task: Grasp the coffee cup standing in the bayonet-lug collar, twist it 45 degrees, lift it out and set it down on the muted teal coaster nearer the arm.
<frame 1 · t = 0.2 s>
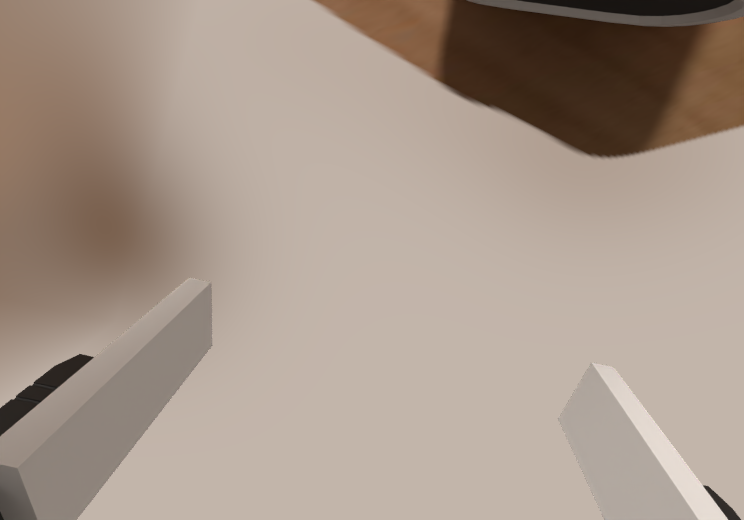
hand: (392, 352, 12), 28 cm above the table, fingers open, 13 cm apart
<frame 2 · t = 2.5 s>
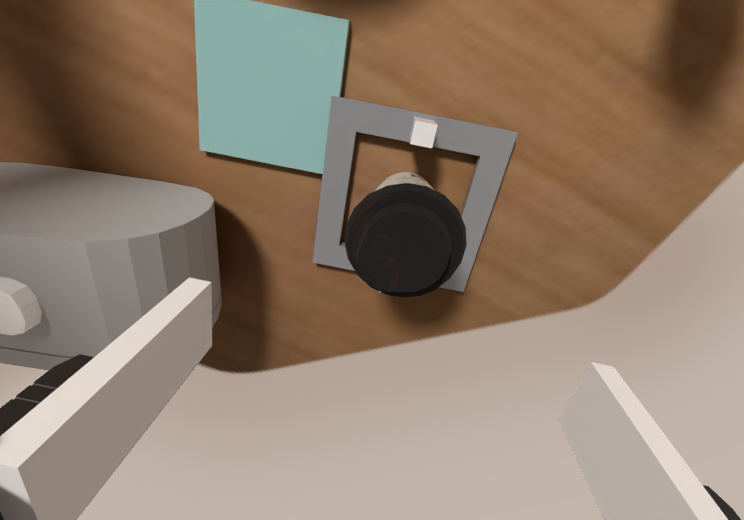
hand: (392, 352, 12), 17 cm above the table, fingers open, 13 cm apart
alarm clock: (130, 225, 31), on the table
coffee cup: (404, 200, 28), resting in collar
coaster: (270, 90, 25), on the table
collar: (404, 201, 28), on the table
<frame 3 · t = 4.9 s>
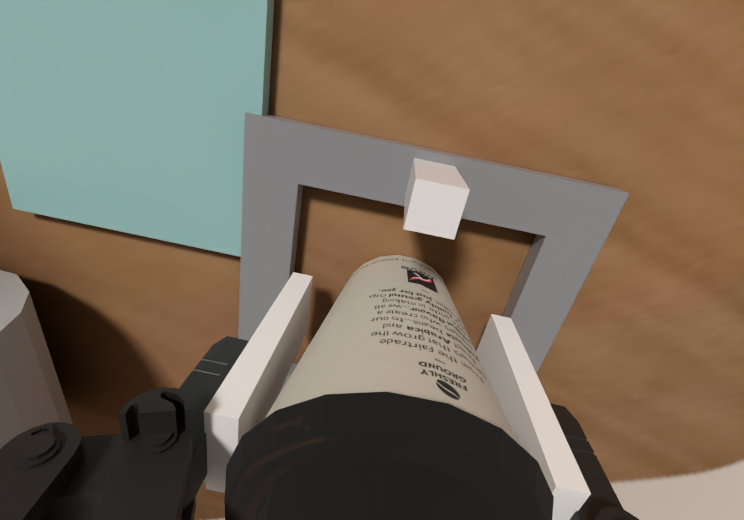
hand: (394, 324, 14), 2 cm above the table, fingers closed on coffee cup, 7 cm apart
coffee cup: (395, 300, 16), resting in collar, touching gripper
coaster: (130, 100, 13), on the table
collar: (395, 303, 15), on the table
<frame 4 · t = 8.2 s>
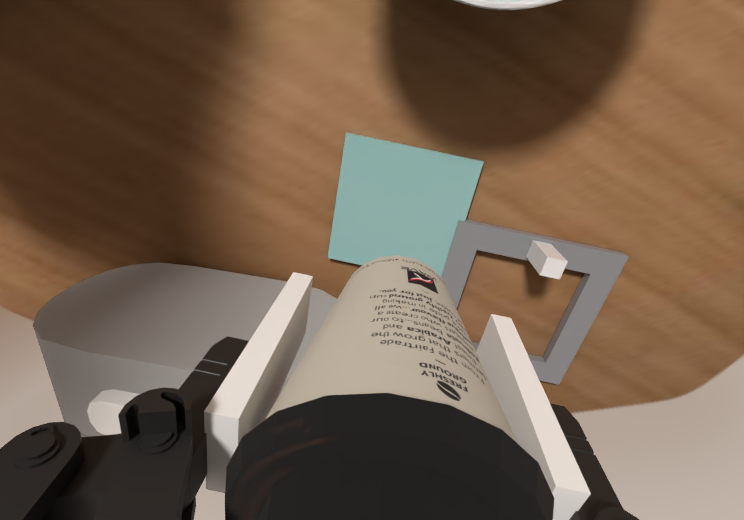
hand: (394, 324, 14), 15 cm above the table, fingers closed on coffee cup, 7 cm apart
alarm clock: (246, 313, 34), on the table
coffee cup: (395, 301, 15), point 14 cm above the table, touching gripper
coaster: (399, 211, 28), on the table
collar: (510, 304, 30), on the table
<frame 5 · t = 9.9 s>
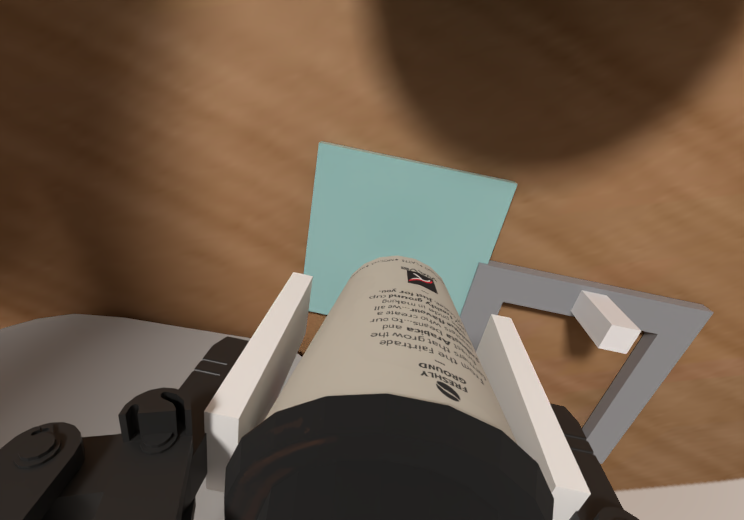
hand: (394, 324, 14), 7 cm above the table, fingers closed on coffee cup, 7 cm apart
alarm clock: (199, 372, 26), on the table
coffee cup: (395, 301, 15), point 5 cm above the table, touching gripper
coaster: (396, 249, 20), on the table
collar: (544, 367, 23), on the table
when the fingers open (4 cm above the table, at t = 11.4 s): coffee cup drops 1 cm, resting on coaster.
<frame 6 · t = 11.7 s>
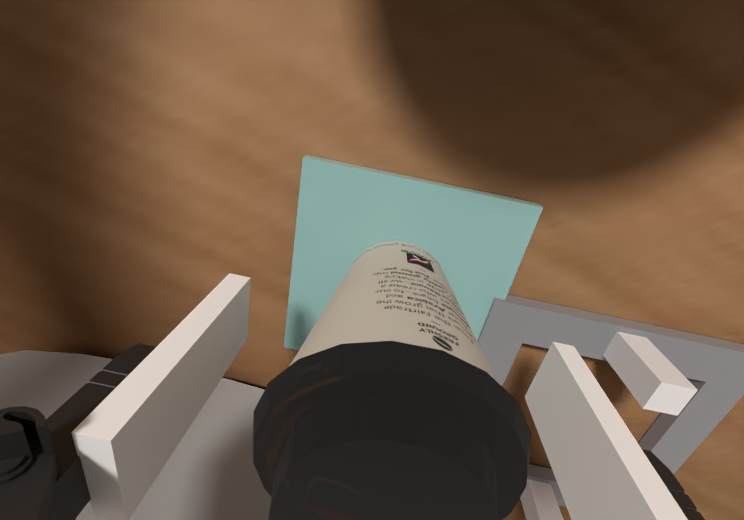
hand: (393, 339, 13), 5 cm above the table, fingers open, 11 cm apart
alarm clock: (173, 412, 23), on the table
coffee cup: (395, 283, 17), resting on coaster
coaster: (396, 280, 17), on the table
collar: (567, 414, 20), on the table
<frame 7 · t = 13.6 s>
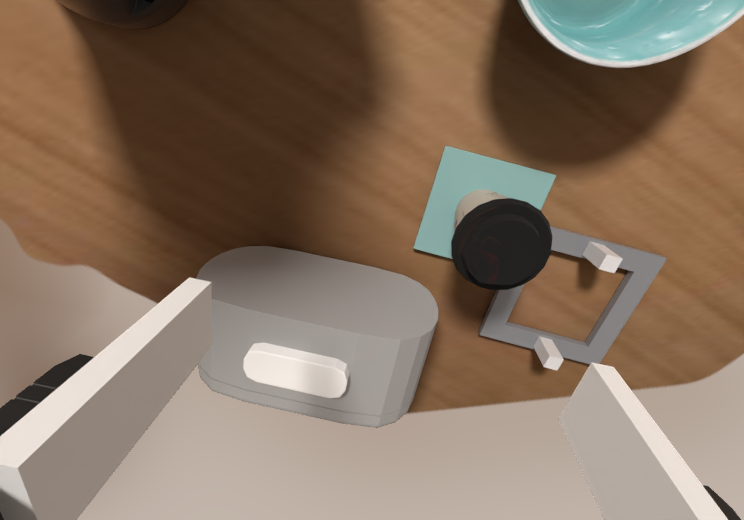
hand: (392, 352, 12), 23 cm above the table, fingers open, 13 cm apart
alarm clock: (331, 294, 39), on the table
coffee cup: (479, 213, 33), resting on coaster
coaster: (479, 212, 34), on the table
collar: (563, 295, 36), on the table
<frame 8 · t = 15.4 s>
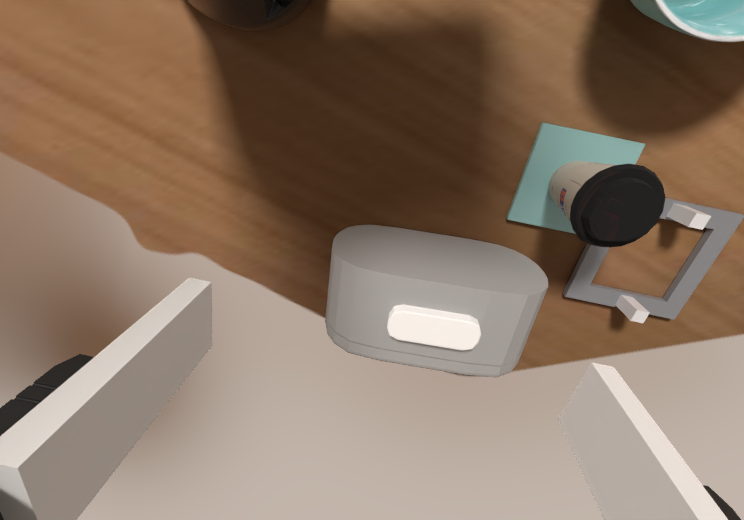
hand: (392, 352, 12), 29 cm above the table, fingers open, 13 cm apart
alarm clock: (425, 267, 43), on the table
coffee cup: (571, 183, 37), resting on coaster
coaster: (570, 182, 37), on the table
collar: (644, 255, 40), on the table
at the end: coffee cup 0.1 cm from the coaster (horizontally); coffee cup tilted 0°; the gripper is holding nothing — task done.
